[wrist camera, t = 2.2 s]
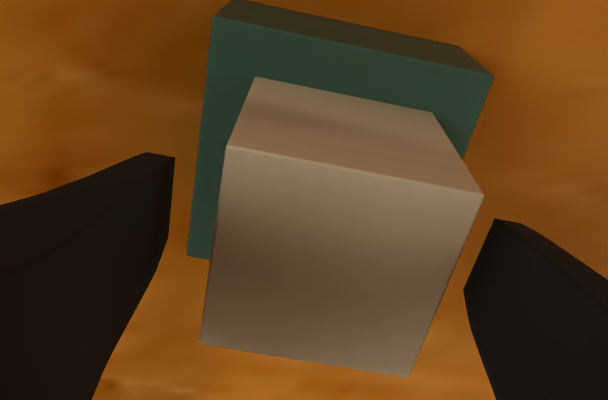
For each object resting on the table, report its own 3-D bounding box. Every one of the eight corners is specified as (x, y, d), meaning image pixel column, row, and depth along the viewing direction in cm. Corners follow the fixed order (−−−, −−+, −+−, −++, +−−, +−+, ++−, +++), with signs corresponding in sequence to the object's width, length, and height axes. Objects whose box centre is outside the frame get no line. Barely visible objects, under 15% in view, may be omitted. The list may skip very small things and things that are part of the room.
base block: (395, 236, 19) (411, 296, 16) (207, 201, 18) (185, 256, 15) (460, 46, 16) (495, 75, 12) (233, -3, 15) (212, 15, 12)
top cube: (384, 257, 15) (409, 379, 11) (230, 230, 15) (198, 345, 11) (433, 112, 13) (486, 195, 9) (254, 75, 13) (225, 144, 9)
